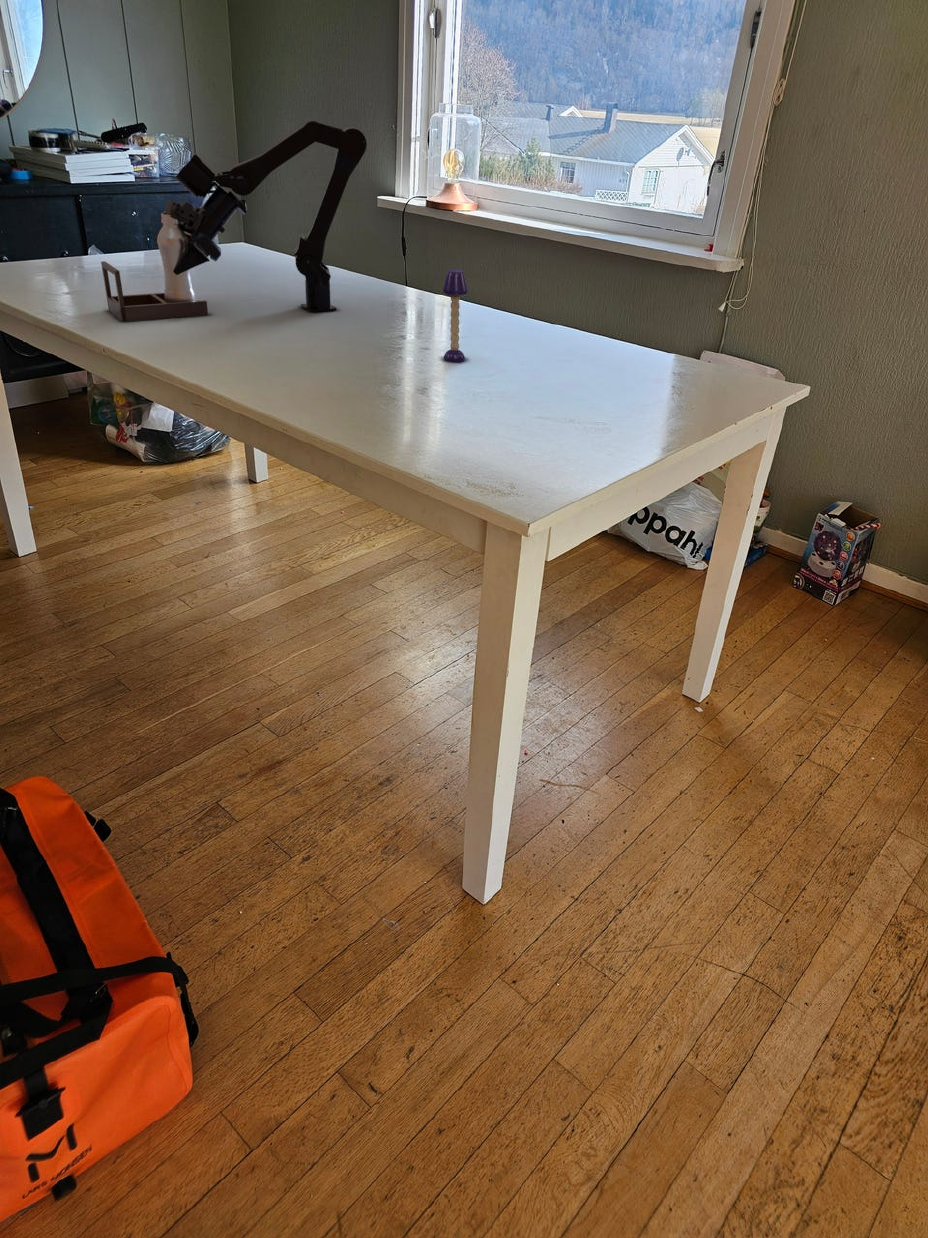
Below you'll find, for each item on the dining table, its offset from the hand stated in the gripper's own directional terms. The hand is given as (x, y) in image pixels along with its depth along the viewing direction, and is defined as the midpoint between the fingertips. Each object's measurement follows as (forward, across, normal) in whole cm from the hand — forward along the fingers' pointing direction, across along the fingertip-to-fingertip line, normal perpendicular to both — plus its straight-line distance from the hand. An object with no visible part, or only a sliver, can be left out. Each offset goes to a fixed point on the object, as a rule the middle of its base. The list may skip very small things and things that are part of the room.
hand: (170, 270), depth 186 cm
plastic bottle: (+5, 0, +7) cm, 9 cm away
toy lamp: (-20, +57, +33) cm, 69 cm away
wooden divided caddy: (+9, 0, +4) cm, 9 cm away
